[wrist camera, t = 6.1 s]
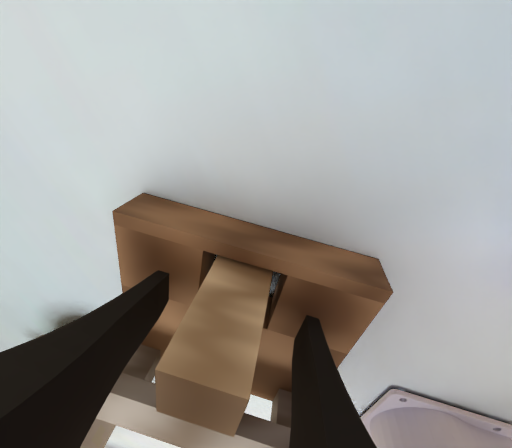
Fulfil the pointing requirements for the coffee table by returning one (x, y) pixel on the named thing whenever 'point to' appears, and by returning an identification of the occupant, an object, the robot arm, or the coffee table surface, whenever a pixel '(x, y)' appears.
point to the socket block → (275, 322)
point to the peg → (215, 348)
